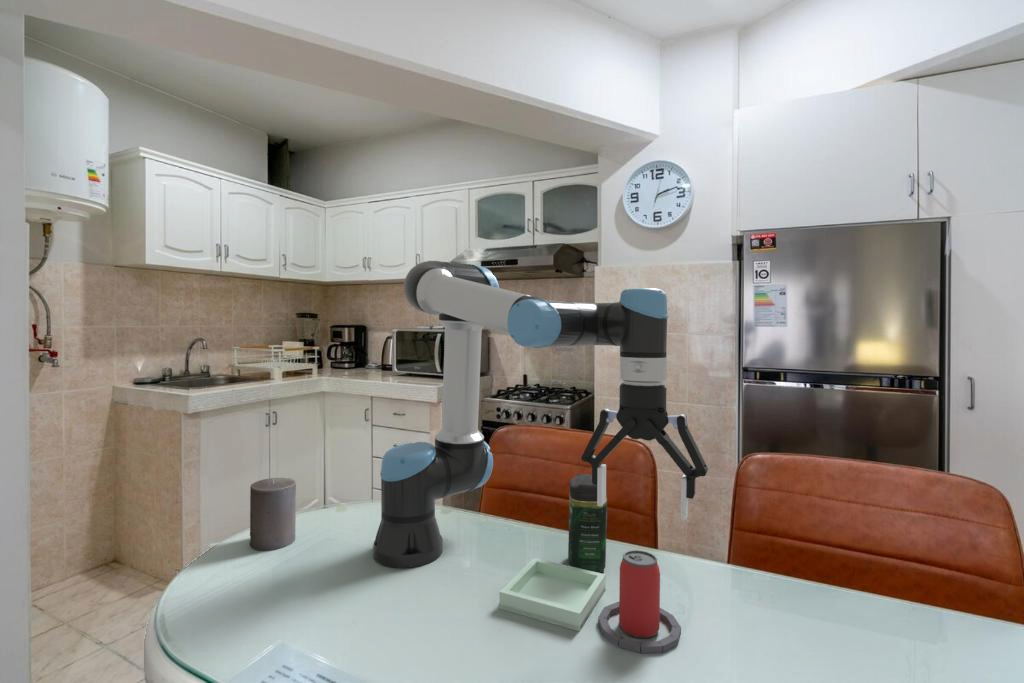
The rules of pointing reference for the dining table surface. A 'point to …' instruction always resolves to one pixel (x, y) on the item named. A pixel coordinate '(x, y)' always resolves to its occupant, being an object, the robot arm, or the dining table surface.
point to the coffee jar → (586, 525)
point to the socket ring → (634, 644)
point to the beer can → (639, 594)
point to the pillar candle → (272, 513)
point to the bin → (554, 593)
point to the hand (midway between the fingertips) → (641, 510)
